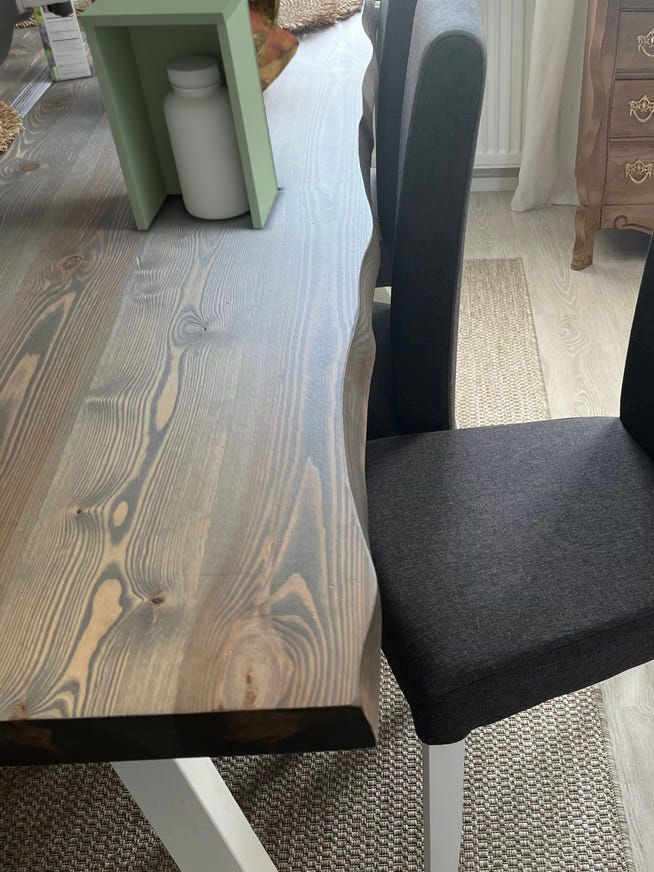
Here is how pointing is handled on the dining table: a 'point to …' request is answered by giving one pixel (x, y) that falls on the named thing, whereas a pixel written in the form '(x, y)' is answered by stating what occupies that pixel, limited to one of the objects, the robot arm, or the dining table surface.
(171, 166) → the cabinet
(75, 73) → the syrup box
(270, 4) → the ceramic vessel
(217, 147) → the pill bottle
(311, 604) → the dining table surface
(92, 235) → the dining table surface
